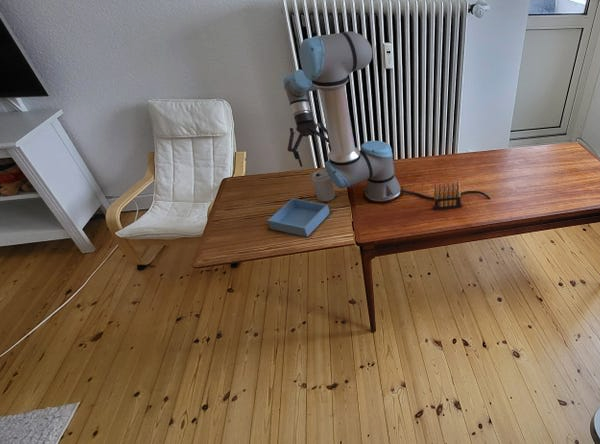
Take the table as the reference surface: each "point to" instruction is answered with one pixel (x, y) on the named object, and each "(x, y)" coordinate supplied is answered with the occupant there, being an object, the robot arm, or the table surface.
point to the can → (323, 185)
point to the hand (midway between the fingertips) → (317, 162)
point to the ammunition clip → (451, 199)
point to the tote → (299, 217)
